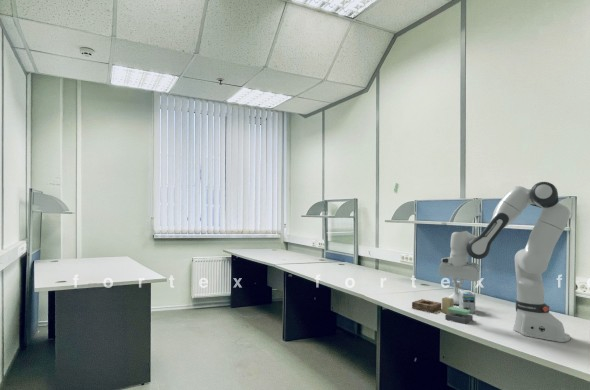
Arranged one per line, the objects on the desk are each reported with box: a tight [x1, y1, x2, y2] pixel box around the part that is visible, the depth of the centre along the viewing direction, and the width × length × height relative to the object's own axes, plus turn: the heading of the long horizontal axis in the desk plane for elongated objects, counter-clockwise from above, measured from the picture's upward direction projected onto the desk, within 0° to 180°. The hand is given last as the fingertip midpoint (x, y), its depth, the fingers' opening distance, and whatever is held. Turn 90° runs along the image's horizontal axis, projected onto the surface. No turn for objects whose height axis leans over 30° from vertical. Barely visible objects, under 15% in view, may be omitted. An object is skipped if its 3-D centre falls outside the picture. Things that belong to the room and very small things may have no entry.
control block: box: [445, 312, 474, 325], centre depth 196 cm, size 10×10×2 cm
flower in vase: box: [447, 280, 461, 306], centre depth 232 cm, size 13×11×25 cm
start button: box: [447, 306, 472, 316], centre depth 196 cm, size 10×6×3 cm, turn 44°
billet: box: [441, 296, 455, 315], centre depth 209 cm, size 4×4×8 cm
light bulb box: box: [458, 289, 476, 314], centre depth 215 cm, size 11×7×11 cm, turn 168°
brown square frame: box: [411, 298, 442, 313], centre depth 217 cm, size 12×12×4 cm
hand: (458, 287), depth 197 cm, fingers closed
